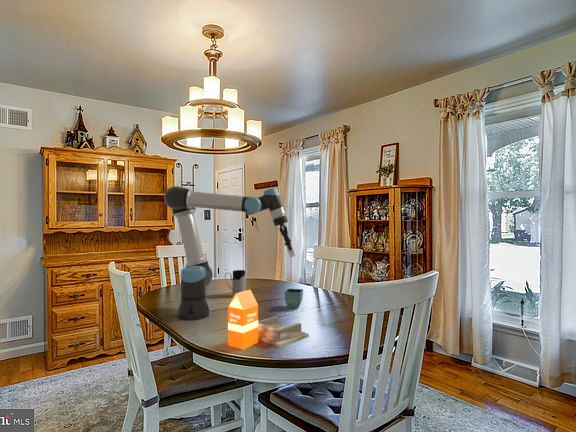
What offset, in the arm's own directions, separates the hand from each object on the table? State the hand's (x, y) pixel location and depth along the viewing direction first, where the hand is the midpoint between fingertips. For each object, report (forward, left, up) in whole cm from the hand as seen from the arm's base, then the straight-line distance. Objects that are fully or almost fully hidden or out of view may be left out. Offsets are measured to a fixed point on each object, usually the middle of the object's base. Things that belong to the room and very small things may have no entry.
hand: (292, 254), depth 185 cm
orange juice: (+22, -50, -28) cm, 62 cm away
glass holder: (-45, -4, -28) cm, 53 cm away
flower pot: (+1, +1, -28) cm, 28 cm away
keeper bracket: (+26, -35, -28) cm, 52 cm away
